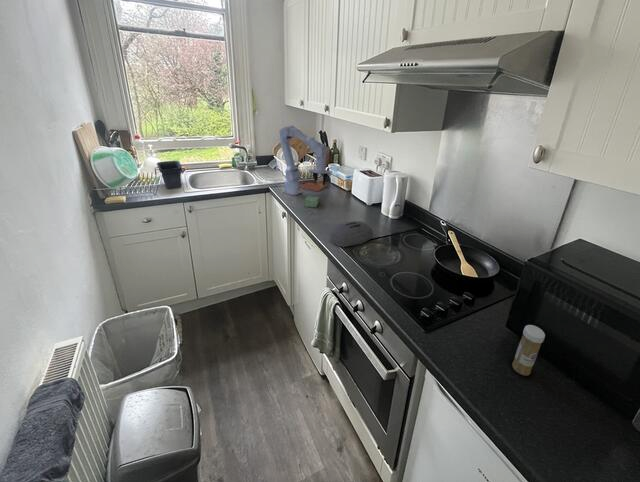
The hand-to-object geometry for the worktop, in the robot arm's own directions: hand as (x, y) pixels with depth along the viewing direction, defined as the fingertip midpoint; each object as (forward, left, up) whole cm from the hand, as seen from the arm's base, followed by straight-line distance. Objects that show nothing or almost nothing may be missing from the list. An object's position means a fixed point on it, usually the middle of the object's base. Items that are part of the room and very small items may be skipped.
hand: (320, 184), depth 189 cm
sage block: (+1, -11, -10) cm, 15 cm away
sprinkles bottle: (+110, -82, -10) cm, 137 cm away
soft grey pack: (+40, -40, -10) cm, 57 cm away
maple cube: (0, 0, -1) cm, 1 cm away
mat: (-16, +19, -10) cm, 27 cm away
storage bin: (-98, -33, -10) cm, 104 cm away
